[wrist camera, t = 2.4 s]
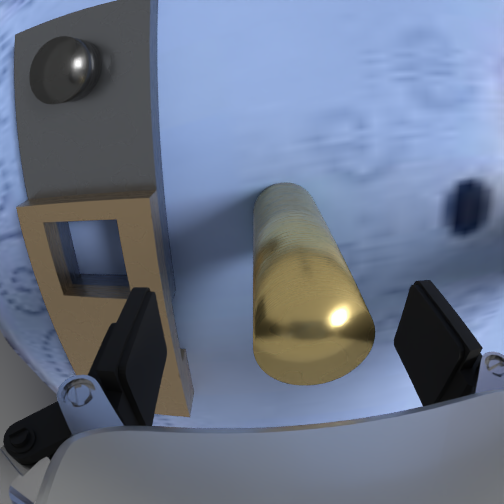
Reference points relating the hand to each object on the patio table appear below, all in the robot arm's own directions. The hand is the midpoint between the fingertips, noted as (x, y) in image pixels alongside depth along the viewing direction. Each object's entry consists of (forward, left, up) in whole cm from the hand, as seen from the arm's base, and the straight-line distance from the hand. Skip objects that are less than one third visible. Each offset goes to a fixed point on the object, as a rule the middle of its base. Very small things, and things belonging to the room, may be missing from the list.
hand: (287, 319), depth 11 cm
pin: (-1, 0, -11) cm, 11 cm away
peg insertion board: (+9, +8, -11) cm, 16 cm away
